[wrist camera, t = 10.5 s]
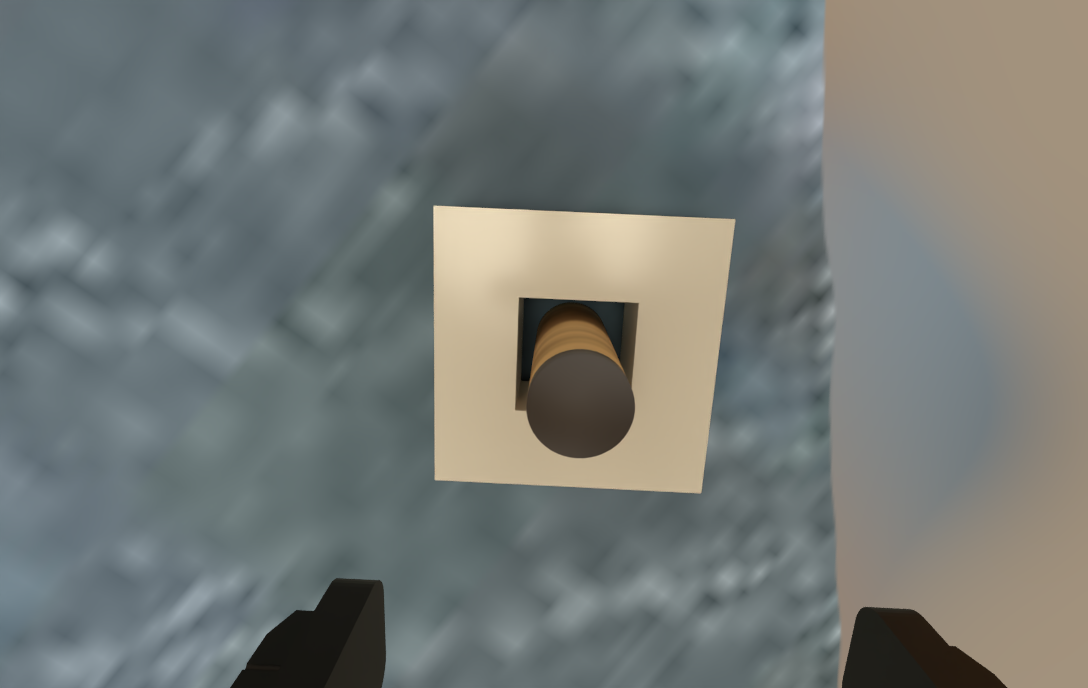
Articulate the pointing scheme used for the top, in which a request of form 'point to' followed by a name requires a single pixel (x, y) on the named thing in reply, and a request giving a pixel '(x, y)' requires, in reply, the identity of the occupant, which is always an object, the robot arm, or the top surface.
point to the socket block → (576, 274)
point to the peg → (577, 385)
